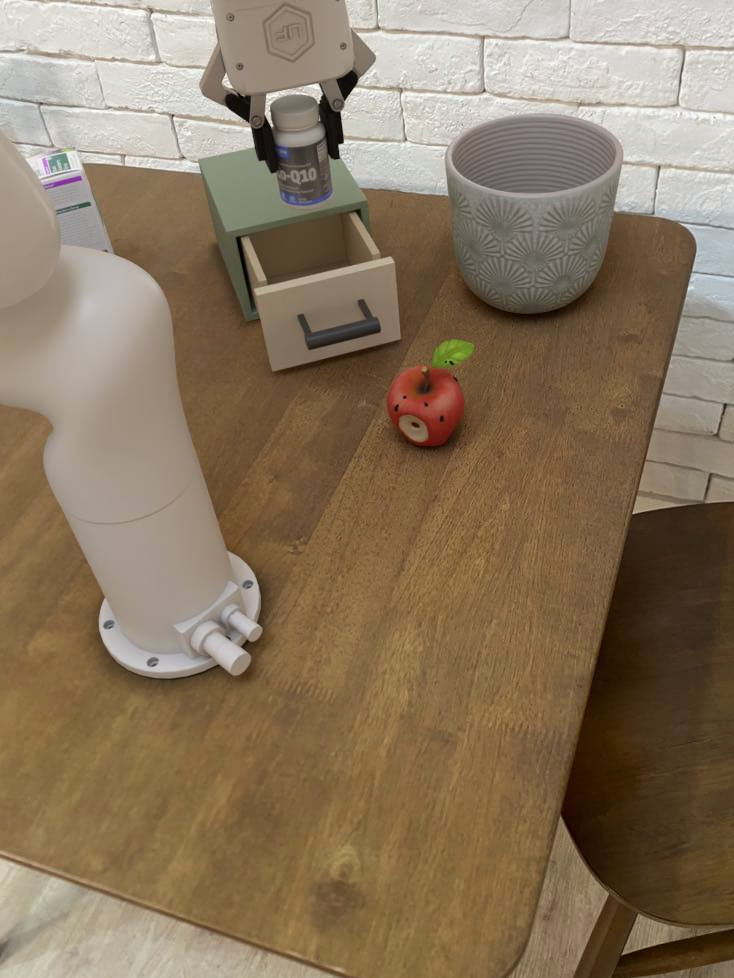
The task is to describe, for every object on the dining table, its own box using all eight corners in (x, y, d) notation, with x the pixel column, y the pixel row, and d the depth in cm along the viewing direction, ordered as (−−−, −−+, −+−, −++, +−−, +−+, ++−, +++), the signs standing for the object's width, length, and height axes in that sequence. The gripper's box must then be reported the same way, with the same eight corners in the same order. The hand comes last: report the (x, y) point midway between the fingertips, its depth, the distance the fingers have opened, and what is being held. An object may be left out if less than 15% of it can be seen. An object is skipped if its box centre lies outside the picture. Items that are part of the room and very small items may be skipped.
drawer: (416, 367, 92) (411, 289, 85) (284, 401, 89) (268, 324, 83) (358, 262, 105) (349, 188, 98) (241, 289, 103) (224, 215, 96)
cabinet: (376, 290, 102) (367, 199, 95) (246, 321, 100) (226, 231, 92) (336, 218, 113) (325, 131, 105) (218, 245, 111) (197, 158, 103)
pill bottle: (274, 210, 83) (256, 115, 77) (290, 184, 86) (274, 90, 80) (325, 213, 82) (312, 117, 76) (340, 186, 85) (328, 92, 79)
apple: (418, 473, 83) (411, 384, 76) (377, 432, 87) (366, 344, 80) (487, 437, 86) (487, 348, 78) (444, 399, 90) (441, 311, 82)
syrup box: (127, 290, 106) (85, 166, 95) (74, 304, 104) (27, 181, 94) (118, 265, 109) (77, 143, 98) (67, 278, 108) (21, 157, 97)
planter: (606, 340, 94) (623, 198, 83) (439, 333, 97) (433, 194, 85) (609, 248, 105) (624, 112, 94) (459, 244, 108) (455, 111, 96)
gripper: (155, -49, 64) (213, 200, 77) (392, -90, 67) (408, 158, 80) (141, -79, 69) (198, 161, 82) (362, -116, 71) (382, 122, 85)
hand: (301, 157), depth 81 cm, fingers closed on pill bottle, 4 cm apart
